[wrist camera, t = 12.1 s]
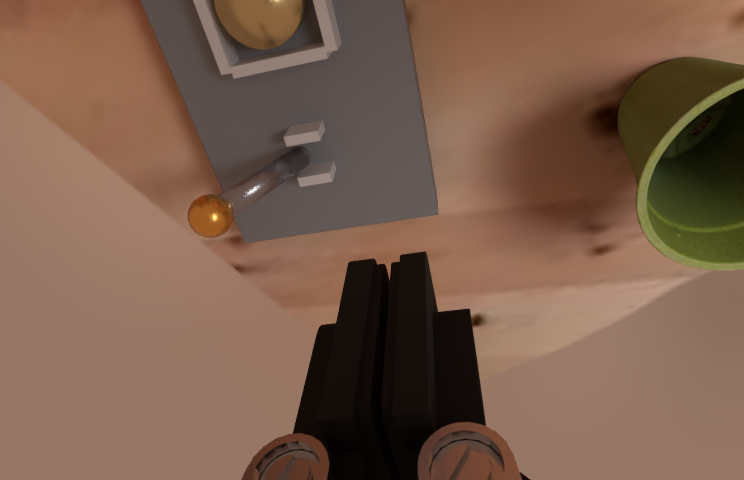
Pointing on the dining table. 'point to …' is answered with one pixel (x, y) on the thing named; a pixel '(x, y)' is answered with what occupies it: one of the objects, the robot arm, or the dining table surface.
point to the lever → (244, 193)
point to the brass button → (261, 20)
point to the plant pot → (689, 160)
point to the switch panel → (308, 112)
